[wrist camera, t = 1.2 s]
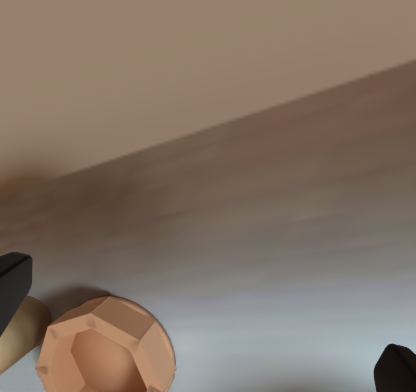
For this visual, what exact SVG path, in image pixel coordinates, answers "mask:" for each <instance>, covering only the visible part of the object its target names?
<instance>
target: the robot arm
mask: <svg viewBox="0 0 416 392" xmlns="http://www.w3.org/2000/svg"><path fill="white" fill-rule="evenodd" d="M31 284H32V257H31V256H30V255H27V254H23V253H19V252H12V253H8V254H5V255H3V256H0V337H1V336H2V334H3V332H4V331H5V329H6V328H7V326H8V324H9V323H10V321H11V319H12V318H13V316H14V315H15V313H16V311H17V310H18V308H19V307H20V305H21V303H22V302H23V300H24V299H25V297H26V295H27V294H28V292H29V290H30V288H31ZM374 381H375V386H376V391H377V392H416V354H414V353H413V352H412V351H411V350H410V349H409V348H407V347H404V346H400V345H396V344H389V345H387V347H386V348H385V350H384V351H383V353H382V355H381V356H380V358H379V360H378V362H377V363H376V365H375V368H374Z"/></svg>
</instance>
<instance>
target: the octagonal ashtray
mask: <svg viewBox="0 0 416 392" xmlns="http://www.w3.org/2000/svg"><path fill="white" fill-rule="evenodd" d="M36 370H37V372H38V375H39V377H40V379H41V381H42V383H43V385H44V387H45V390H46V392H168V390H169V388H170V386H171V384H172V382H173V379H174V375H175V371H176V361H175V354H174V349H173V346H172V343H171V340H170V338H169V336H168V334H167V332H166V331H165V329H164V328H163V326H162V325H161V324H160V322H159V321H158V320H157V319H156V318H155V317H154V316H153V315H152V314H151V313H150V312H149V311H147V310H146V309H145V308H143V307H142V306H140V305H138V304H137V303H135V302H132V301H130V300H128V299H124V298H121V297H115V296H102V297H97V298H93V299H91V300H89V301H87V302H85V303H84V304H82V305H81V306H80V307H77V308H73V309H70V310H69V311H67V312H66V313H65V314H63V315H62V316H61V317H59V318H58V319H57V320H55V321H54V322H53V323H51V324H50V325H49V326H48V328H47V331H46V335H45V338H44V342H43V345H42V348H41V352H40V355H39V359H38V362H37V366H36Z"/></svg>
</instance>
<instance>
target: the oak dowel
mask: <svg viewBox="0 0 416 392" xmlns="http://www.w3.org/2000/svg"><path fill="white" fill-rule="evenodd" d="M50 324H51V318H50V315H49V312H48V311H47V309H46V307H45V306H44V305H43V304H42V303H41V302H40V301H38V300H37V299H35V298H33V297H30V296H26V297H25V299H24V300H23V302H22V303H21V305H20V307H19V308H18V310H17V311H16V313H15V315H14V316H13V318H12V319H11V321H10V323H9V324H8V326H7V328H6V329H5V331H4V332H3V334H2V336H1V337H0V375H1V374H2V373H3V372H5V371H6V370H7V369H8V368H10V367H11V366H12V365H13V364H15V363H16V362H17V361H18V360H20V359H21V358H22V357H23V356H25V355H26V354H27V353H28V352H30V351H31V350H32V349H33V348H35V347H36V346H37V345H39V344H40V343H41V342H42V341H44V338H45V335H46V331H47V328H48V326H49V325H50Z"/></svg>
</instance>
